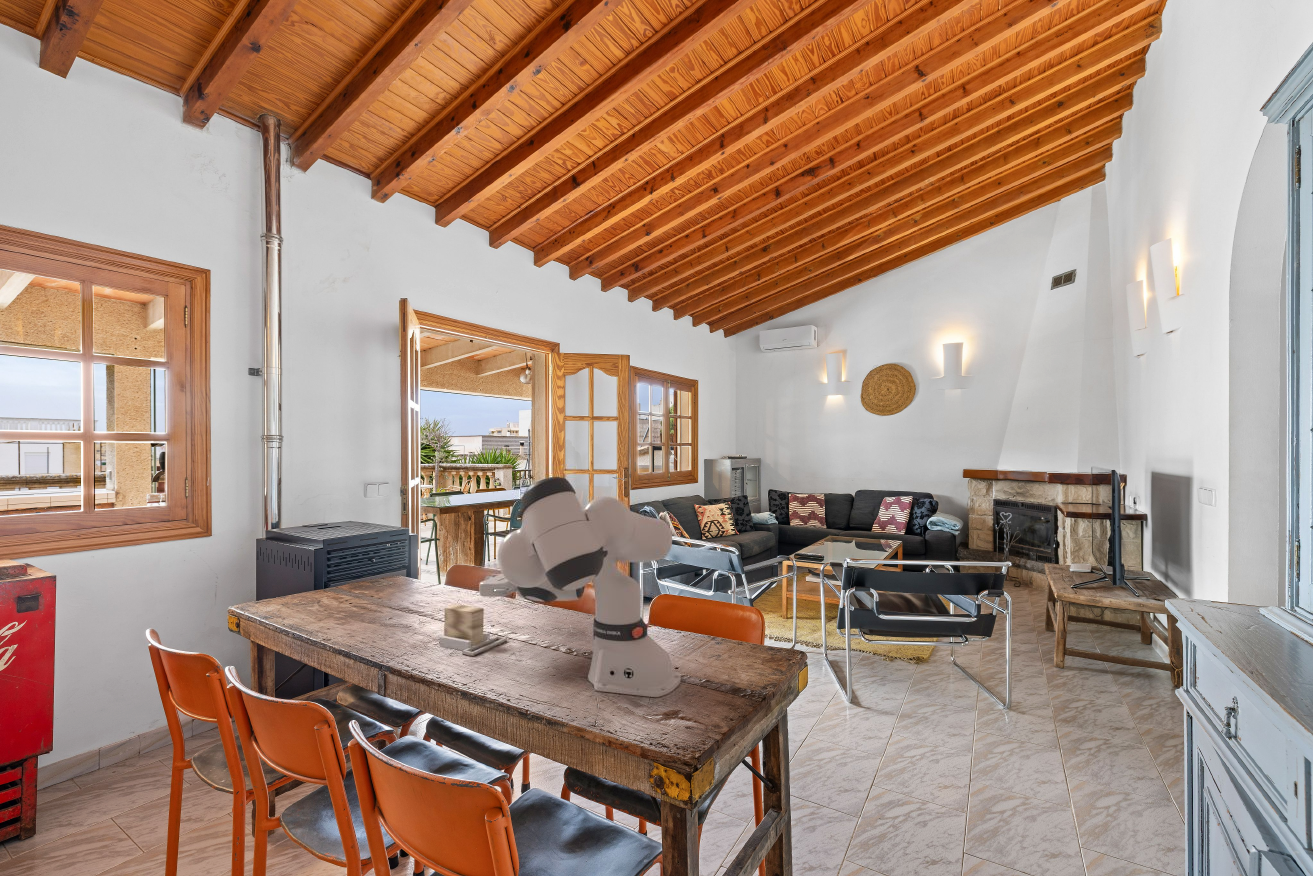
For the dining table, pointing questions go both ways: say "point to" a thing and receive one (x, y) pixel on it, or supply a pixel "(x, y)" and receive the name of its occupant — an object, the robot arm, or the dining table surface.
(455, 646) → the white flat piece
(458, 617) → the birch block
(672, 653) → the dining table surface
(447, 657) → the dining table surface
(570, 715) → the dining table surface
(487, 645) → the trap slot
